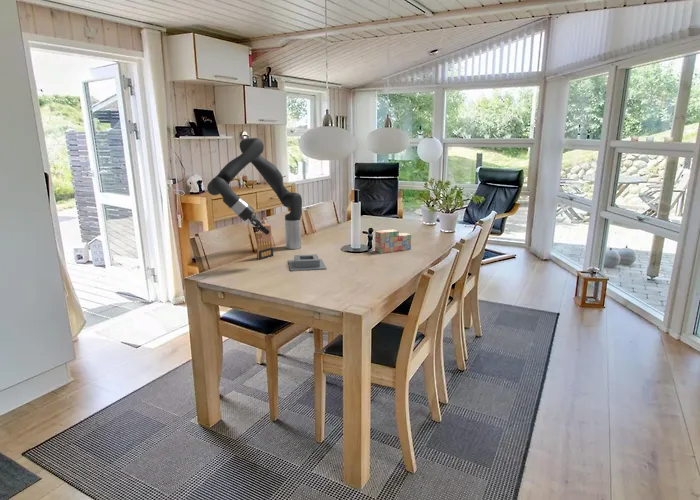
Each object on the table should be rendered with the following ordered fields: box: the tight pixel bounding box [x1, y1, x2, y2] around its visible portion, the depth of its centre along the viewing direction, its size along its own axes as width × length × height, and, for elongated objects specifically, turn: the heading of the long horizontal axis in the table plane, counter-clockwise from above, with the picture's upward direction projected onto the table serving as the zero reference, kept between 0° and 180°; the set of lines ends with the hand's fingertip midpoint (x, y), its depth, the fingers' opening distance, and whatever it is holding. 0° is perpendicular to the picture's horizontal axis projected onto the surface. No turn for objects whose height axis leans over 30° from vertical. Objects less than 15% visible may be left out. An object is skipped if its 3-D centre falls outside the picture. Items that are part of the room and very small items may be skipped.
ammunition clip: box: [256, 237, 274, 261], centre depth 243 cm, size 11×2×12 cm, turn 143°
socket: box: [287, 253, 327, 272], centre depth 230 cm, size 18×18×4 cm
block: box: [261, 223, 272, 241], centre depth 224 cm, size 4×4×8 cm
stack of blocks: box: [374, 228, 412, 254], centre depth 262 cm, size 21×6×12 cm, turn 117°
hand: (268, 232), depth 224 cm, fingers closed on block, 4 cm apart
